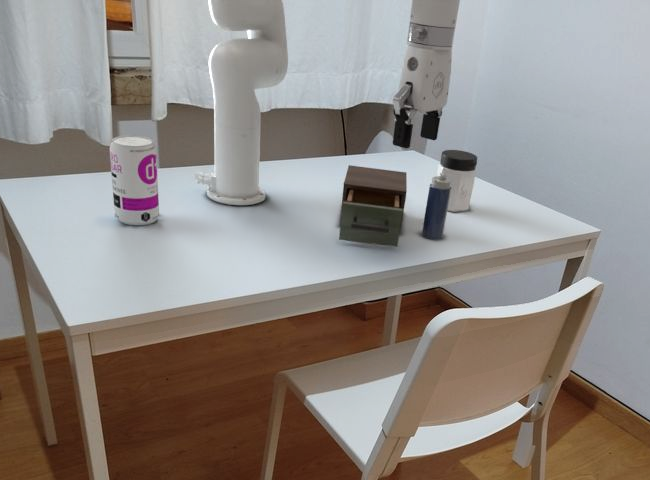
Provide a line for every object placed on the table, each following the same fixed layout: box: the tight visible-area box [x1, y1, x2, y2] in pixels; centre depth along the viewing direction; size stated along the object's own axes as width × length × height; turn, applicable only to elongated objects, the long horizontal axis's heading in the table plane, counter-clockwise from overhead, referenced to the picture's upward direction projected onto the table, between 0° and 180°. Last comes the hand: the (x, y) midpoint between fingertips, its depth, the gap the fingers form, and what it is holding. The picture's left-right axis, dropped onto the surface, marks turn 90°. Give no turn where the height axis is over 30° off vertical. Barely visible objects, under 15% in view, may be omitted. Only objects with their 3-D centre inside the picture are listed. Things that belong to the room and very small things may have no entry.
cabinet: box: [338, 164, 408, 235], centre depth 141 cm, size 14×13×9 cm
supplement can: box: [109, 135, 160, 226], centre depth 126 cm, size 8×8×15 cm
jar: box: [436, 149, 478, 213], centre depth 154 cm, size 9×8×12 cm
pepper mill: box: [421, 173, 452, 240], centre depth 136 cm, size 4×4×13 cm
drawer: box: [338, 188, 404, 248], centre depth 131 cm, size 17×11×7 cm
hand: (415, 142), depth 119 cm, fingers open, 9 cm apart
